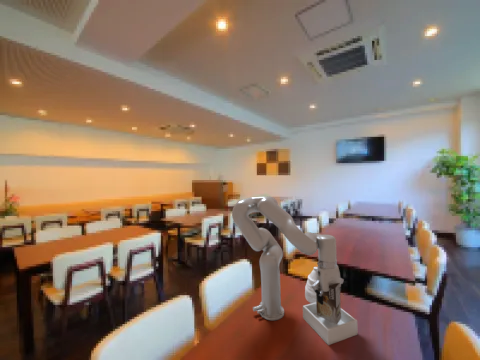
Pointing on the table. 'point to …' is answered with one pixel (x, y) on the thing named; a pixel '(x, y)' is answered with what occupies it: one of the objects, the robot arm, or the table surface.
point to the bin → (330, 325)
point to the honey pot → (309, 291)
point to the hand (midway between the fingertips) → (328, 300)
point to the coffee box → (330, 304)
